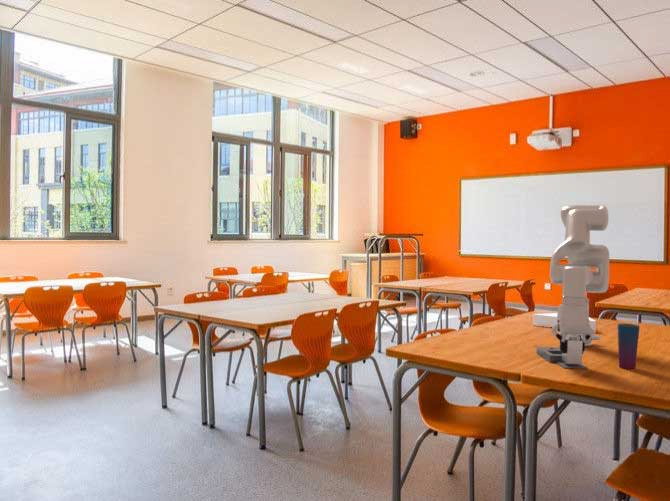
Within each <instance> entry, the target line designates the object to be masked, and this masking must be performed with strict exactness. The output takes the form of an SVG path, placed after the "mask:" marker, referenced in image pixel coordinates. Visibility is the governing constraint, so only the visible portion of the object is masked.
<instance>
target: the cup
mask: <svg viewBox="0 0 670 501" xmlns="http://www.w3.org/2000/svg"><path fill="white" fill-rule="evenodd" d="M639 335H640V325H638V324H633V323H624V322H623V323H617V342H618V346H617V348H618V367H619V368H620V369H623V370H624V369H625V370H635V369H636V365H637V364H636V362H637V354H638V344H639V337H640V336H639Z"/></svg>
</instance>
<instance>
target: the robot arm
mask: <svg viewBox="0 0 670 501" xmlns="http://www.w3.org/2000/svg"><path fill="white" fill-rule="evenodd" d="M560 219H561V222H562V223H563V225H564V228H565V233H564V242H562V243H561V244H559V246H557V248H556V249H555V250H554V251H553V253H552V255H551V258H550V263H549V264H550V266H549V279H550V281H551V282H552V284H554V285H561V286H562V292H561V294H562V295H561V296H562V298H561V304H559V305H558V309H557V313H558V314H557V321H556V325H555V326H554V327H553V328H551V330H550V333H551V334H553V335H554V337H556V339H557V340H559V348H560V350H561V352H562V353H564V354H565V353H566V342H565V339H566V338H569V337H576V338H578V339H580V340H582V341H583V344H582V355H584V352H585V348H586V347H590V346H592V344H593V342H592V341H600V340H601V336H600V335H595V334H596V333H595V332H594V330H593V329H592V328H591V327H590V325H589V317H590V315H589V314H590V312H589V311H590V298H587V296H586V295H587V294H586V293H589V294H590V293H593V294H596V293H597V294H602V293H603V294H604V293H606V292H607V291H608V289H609V286H610V285H609V284H610V283H609V282H610V252H609V248H608V247H607V246H606V245H604V244H592V243H590V242H591V241H590V240H591V233H590V231H599V232H600V231H605V230H606V229H607V228H608V224H609V210H608V208H607V207H606V205H598V204H597V205H592V204H591V205H587V204H586V205H585V204H584V205H583V204H581V205H580V204H579V205H566V206H563V207H562V208H561V209H560ZM566 257H567V263H568V264H567V263H560V261H561V260H563V259H565V258H566ZM591 268H595V269H591ZM559 333H560V334H559Z"/></svg>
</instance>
